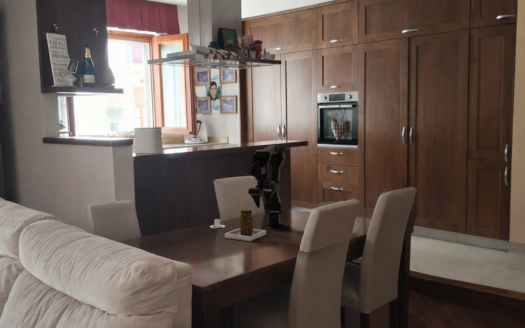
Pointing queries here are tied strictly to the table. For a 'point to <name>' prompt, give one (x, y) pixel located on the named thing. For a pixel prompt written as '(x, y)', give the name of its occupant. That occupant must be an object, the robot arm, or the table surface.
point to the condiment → (246, 223)
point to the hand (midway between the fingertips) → (263, 206)
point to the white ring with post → (217, 224)
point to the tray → (236, 236)
